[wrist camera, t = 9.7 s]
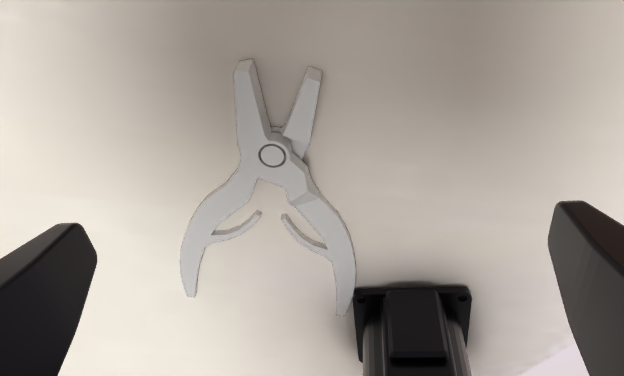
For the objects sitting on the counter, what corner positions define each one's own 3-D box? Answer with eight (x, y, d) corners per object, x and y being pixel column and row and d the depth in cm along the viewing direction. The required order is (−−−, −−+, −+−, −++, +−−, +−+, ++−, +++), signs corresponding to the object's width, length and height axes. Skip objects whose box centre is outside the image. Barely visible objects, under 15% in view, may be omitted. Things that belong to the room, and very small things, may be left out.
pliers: (178, 307, 28) (151, 58, 19) (186, 286, 29) (165, 44, 20) (348, 328, 28) (402, 89, 19) (348, 307, 29) (399, 73, 20)
